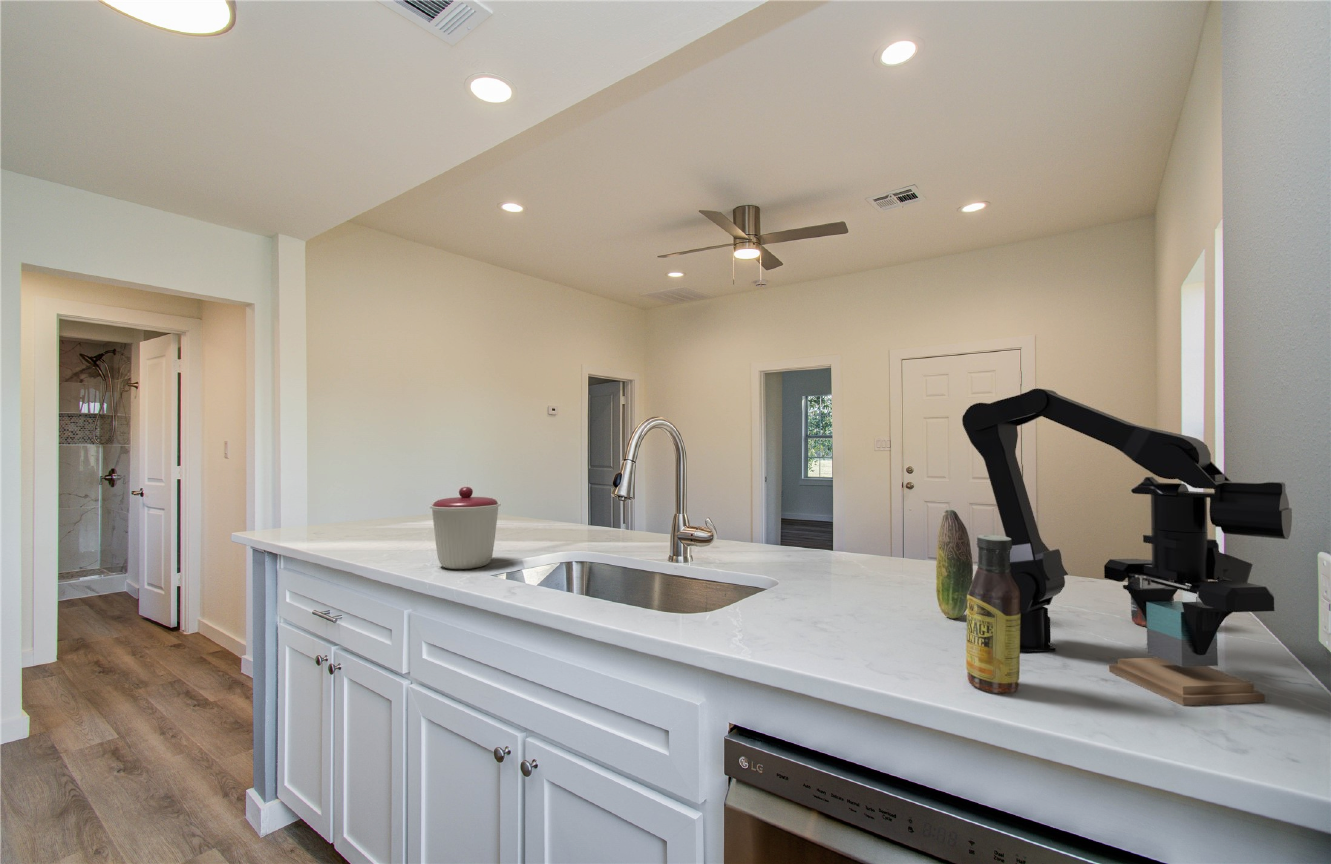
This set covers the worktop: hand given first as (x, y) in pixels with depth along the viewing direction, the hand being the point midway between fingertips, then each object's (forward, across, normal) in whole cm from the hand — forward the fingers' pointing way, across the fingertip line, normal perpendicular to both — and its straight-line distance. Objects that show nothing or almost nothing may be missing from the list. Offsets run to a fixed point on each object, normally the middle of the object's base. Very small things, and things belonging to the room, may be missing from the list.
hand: (1180, 647), depth 79 cm
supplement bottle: (+5, +25, -20) cm, 32 cm away
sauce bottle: (+5, +2, +25) cm, 26 cm away
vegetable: (+5, +33, +12) cm, 35 cm away
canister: (+6, +90, +114) cm, 146 cm away
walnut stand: (+5, 0, 0) cm, 5 cm away
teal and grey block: (+2, 0, 0) cm, 2 cm away
